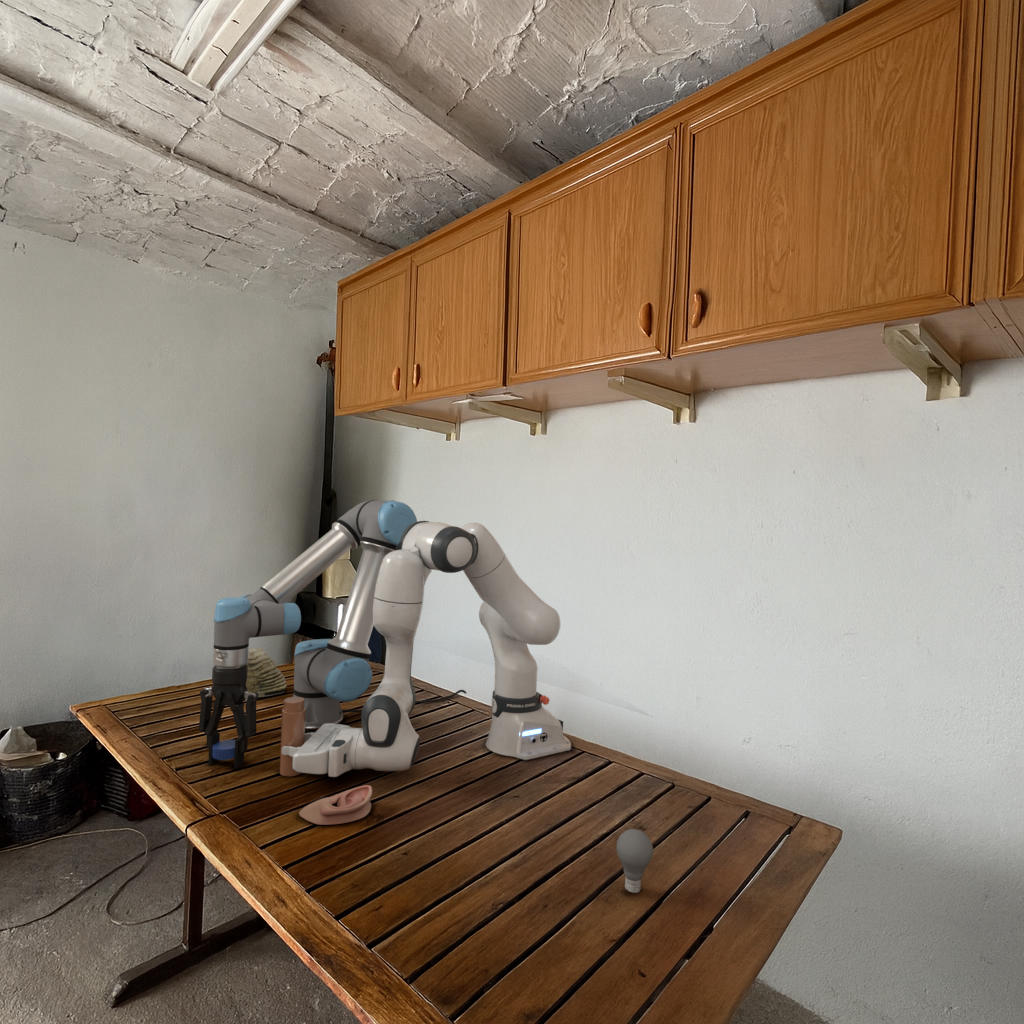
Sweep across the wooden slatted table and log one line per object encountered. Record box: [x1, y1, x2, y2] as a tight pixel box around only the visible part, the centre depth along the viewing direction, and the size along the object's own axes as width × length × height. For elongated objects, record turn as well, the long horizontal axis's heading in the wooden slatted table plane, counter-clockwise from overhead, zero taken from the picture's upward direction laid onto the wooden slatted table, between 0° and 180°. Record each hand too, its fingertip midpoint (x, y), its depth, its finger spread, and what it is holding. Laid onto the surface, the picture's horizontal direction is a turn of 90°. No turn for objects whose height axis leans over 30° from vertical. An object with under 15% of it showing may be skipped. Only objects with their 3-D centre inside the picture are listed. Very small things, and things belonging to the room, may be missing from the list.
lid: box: [212, 739, 236, 761], centre depth 147 cm, size 6×6×2 cm
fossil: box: [243, 647, 288, 699], centre depth 198 cm, size 9×18×15 cm, turn 132°
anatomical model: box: [298, 784, 373, 826], centre depth 127 cm, size 13×4×12 cm
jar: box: [279, 696, 306, 777], centre depth 145 cm, size 5×5×17 cm
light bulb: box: [615, 828, 654, 894], centre depth 106 cm, size 6×6×10 cm
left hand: (226, 763), depth 147 cm, fingers closed on lid, 6 cm apart
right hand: (288, 743), depth 145 cm, fingers closed on jar, 5 cm apart
